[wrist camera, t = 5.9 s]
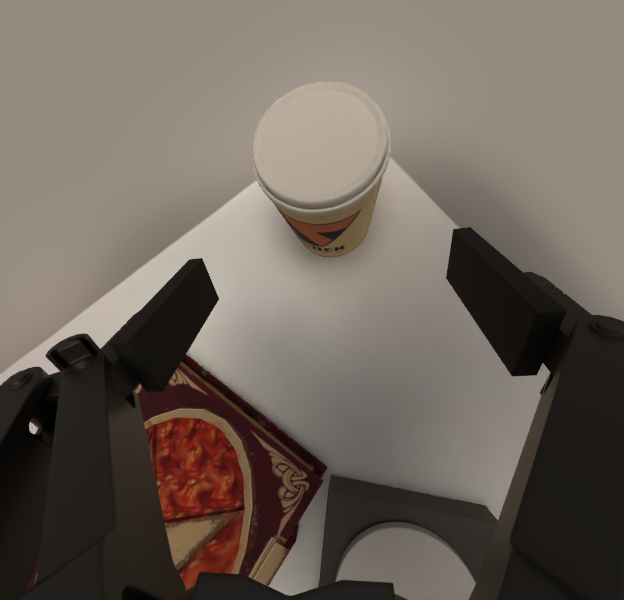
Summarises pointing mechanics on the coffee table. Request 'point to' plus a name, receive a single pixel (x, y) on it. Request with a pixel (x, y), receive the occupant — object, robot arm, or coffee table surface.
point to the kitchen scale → (404, 540)
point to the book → (223, 478)
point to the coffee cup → (323, 163)
